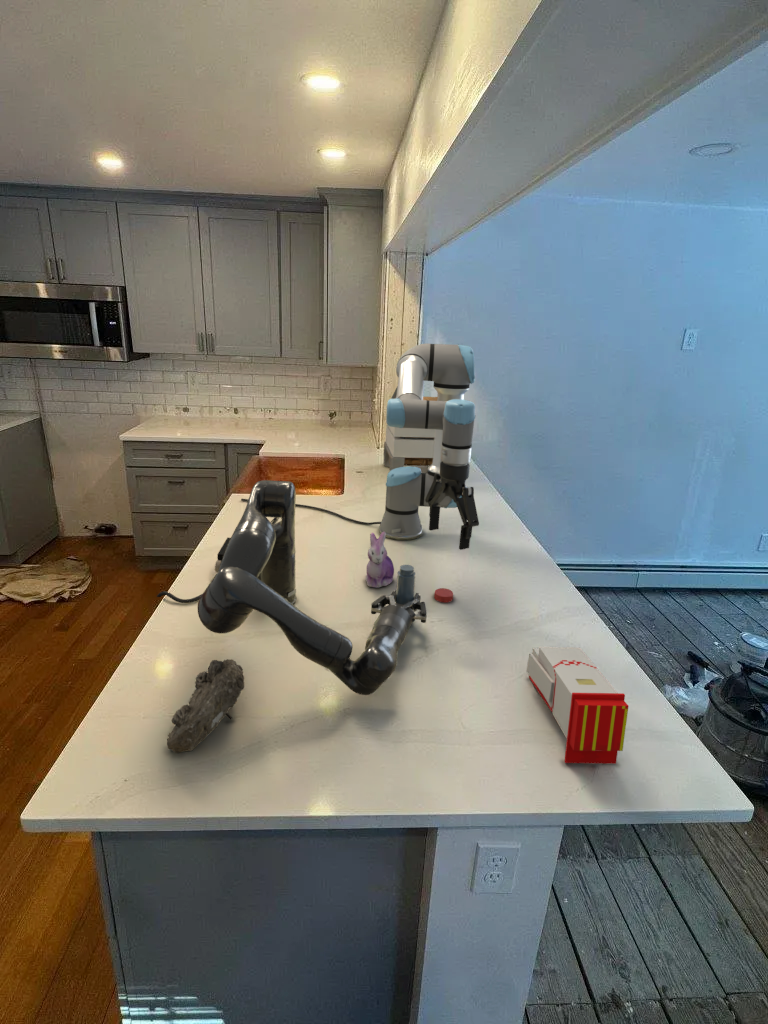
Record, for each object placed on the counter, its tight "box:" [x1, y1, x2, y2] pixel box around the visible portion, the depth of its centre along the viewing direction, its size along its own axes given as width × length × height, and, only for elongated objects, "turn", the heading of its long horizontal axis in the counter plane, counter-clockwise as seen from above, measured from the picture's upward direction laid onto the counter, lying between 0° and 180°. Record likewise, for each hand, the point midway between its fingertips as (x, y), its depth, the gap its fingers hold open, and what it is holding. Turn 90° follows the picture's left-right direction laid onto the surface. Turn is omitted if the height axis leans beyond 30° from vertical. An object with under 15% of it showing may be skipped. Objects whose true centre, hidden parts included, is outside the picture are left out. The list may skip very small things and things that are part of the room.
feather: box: [270, 517, 278, 525], centre depth 212 cm, size 2×28×2 cm
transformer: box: [383, 387, 437, 472], centre depth 268 cm, size 34×33×41 cm
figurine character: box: [214, 537, 231, 573], centre depth 166 cm, size 7×8×15 cm
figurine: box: [365, 532, 395, 589], centre depth 162 cm, size 9×10×15 cm
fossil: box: [166, 658, 245, 754], centre depth 106 cm, size 22×10×15 cm
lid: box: [433, 587, 454, 603], centre depth 156 cm, size 5×5×2 cm
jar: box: [395, 564, 416, 627], centre depth 141 cm, size 4×4×15 cm
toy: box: [526, 646, 629, 765], centre depth 112 cm, size 12×13×30 cm
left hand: (407, 594), depth 144 cm, fingers open, 4 cm apart
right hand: (448, 538), depth 152 cm, fingers open, 13 cm apart
